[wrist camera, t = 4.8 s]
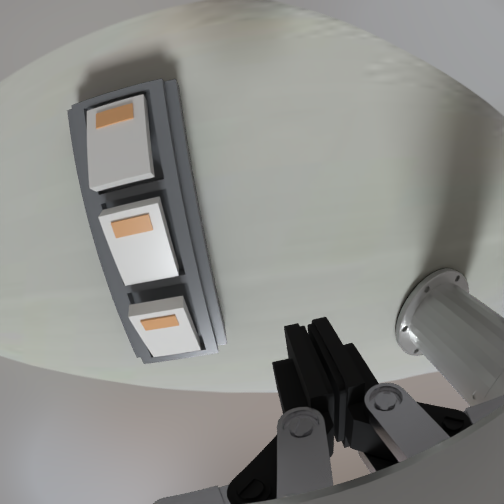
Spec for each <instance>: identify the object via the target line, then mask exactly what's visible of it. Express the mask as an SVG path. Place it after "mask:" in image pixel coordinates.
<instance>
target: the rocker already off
mask: <svg viewBox="0 0 504 504" xmlns="http://www.w3.org/2000/svg"><path fill="white" fill-rule="evenodd" d="M128 318H129V319H130V321H131V322H132V324H133V326H134V327H135V329H136V331H137V332H138V334H139V335H140V337H141V338H142V340H143V342H144V343H145V345H146V346H147V348H148V349H149V351H150V352H151V354H152V355H153V357H159V356H166V355H173V354H180V353H186V352H192V351H198V350H201V347H200V339H199V336H198V334H197V331H196V329H195V326H194V324H193V321H192V318H191V316H190V313H189V311H188V308H187V305H186V303H185V300H184V297H183V296H178V297H172V298H166V299H161V300H155V301H149V302H143V303H138V304H132V305H129V313H128Z"/></svg>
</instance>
